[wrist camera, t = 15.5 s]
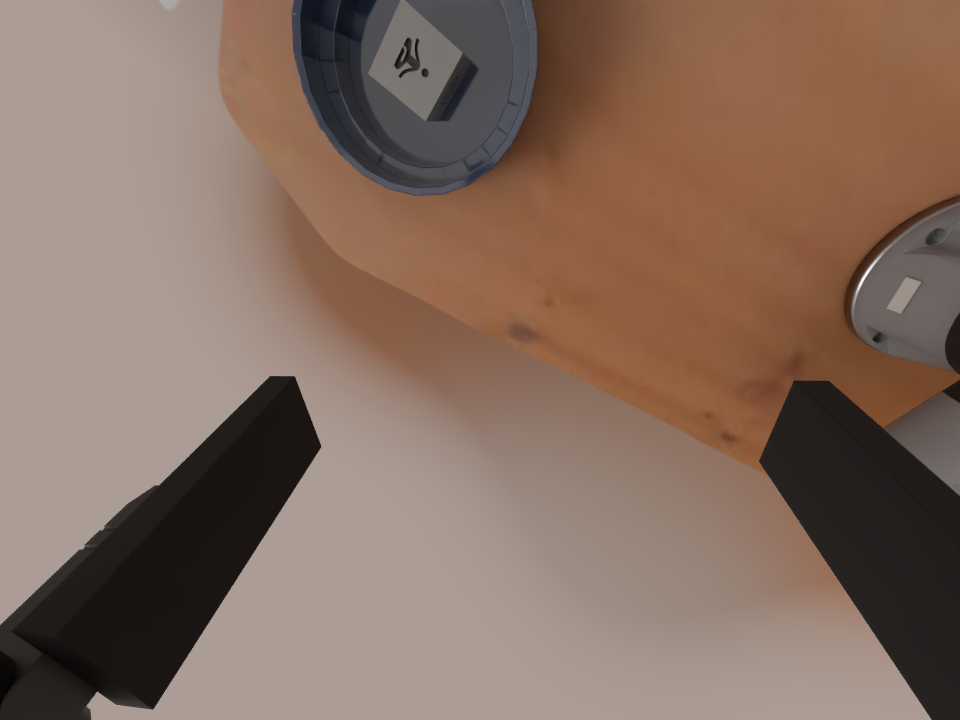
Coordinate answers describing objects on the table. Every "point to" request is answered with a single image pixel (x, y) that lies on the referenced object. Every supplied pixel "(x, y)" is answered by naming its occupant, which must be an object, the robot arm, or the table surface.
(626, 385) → the table surface
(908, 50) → the table surface
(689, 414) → the table surface
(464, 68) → the dice cube
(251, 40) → the table surface
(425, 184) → the blue round bowl
